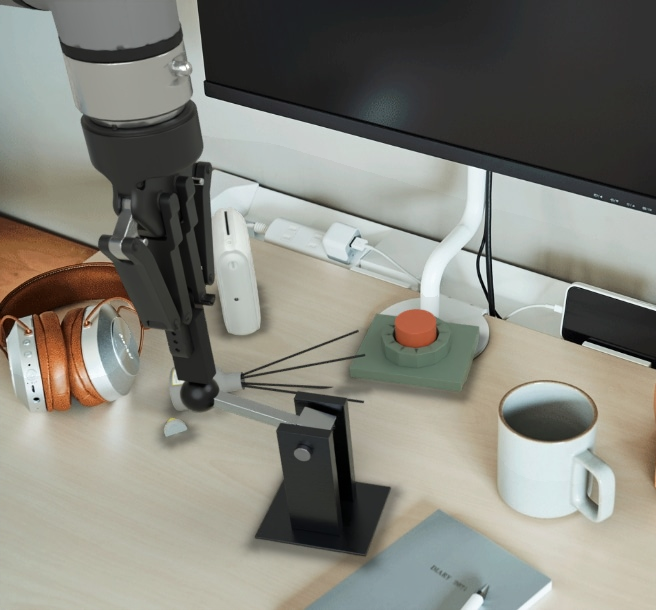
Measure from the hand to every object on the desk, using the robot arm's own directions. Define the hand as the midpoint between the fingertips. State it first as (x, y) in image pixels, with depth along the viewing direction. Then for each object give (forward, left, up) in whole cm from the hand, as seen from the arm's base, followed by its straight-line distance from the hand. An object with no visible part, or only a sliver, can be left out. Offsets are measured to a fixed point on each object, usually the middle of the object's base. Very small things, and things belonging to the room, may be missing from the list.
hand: (197, 376), depth 75 cm
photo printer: (-10, +29, -15) cm, 34 cm away
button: (+12, +24, -12) cm, 29 cm away
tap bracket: (+10, 0, -15) cm, 18 cm away
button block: (+12, +24, -15) cm, 30 cm away
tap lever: (+4, 0, -5) cm, 6 cm away
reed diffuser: (-1, +13, -15) cm, 20 cm away
